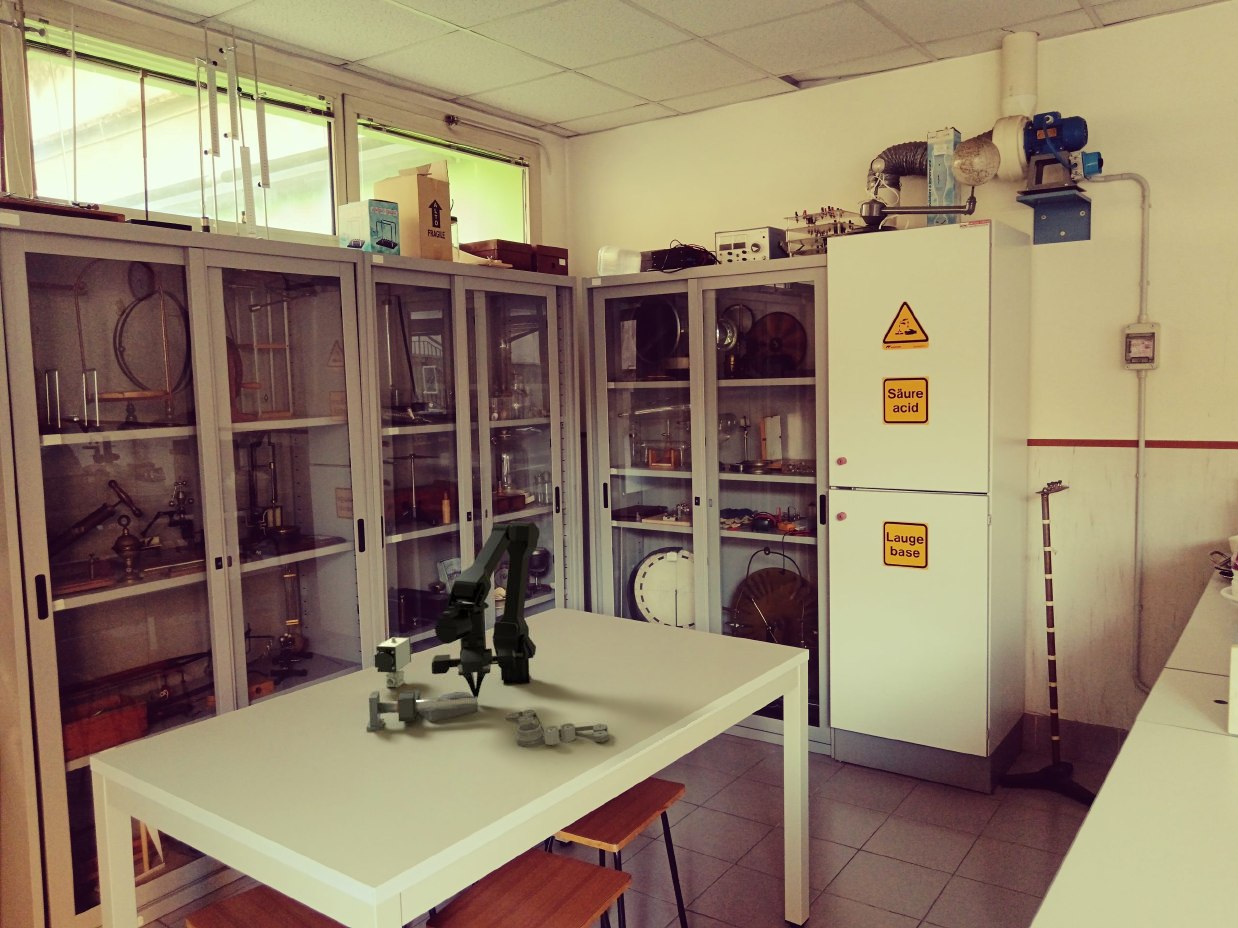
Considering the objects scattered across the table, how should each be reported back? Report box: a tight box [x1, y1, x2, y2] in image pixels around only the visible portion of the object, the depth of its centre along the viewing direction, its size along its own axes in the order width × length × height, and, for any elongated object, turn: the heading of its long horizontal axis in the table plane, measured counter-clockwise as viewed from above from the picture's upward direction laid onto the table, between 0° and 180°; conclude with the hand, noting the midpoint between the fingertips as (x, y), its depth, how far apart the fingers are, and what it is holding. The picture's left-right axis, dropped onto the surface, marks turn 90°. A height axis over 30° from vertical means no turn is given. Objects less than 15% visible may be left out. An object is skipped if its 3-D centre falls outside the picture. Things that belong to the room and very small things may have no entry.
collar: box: [397, 689, 421, 723], centre depth 199 cm, size 3×14×5 cm, turn 7°
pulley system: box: [505, 709, 610, 748], centre depth 187 cm, size 27×5×15 cm
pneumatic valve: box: [374, 636, 413, 689], centre depth 221 cm, size 6×12×12 cm, turn 168°
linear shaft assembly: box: [366, 691, 479, 732], centre depth 194 cm, size 23×5×7 cm, turn 97°
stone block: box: [418, 691, 479, 722], centre depth 202 cm, size 12×5×10 cm
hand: (476, 698), depth 206 cm, fingers closed
